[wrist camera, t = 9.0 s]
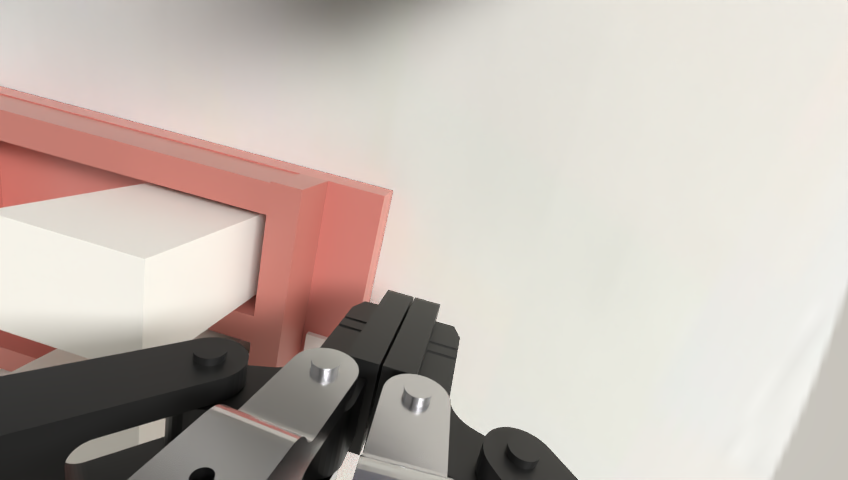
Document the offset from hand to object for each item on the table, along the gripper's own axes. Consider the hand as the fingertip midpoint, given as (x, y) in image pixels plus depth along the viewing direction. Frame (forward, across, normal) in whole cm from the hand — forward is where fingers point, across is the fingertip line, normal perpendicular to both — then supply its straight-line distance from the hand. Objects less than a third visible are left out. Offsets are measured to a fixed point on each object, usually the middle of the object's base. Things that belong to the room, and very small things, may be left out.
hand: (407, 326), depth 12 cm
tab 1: (+3, +8, 0) cm, 8 cm away
